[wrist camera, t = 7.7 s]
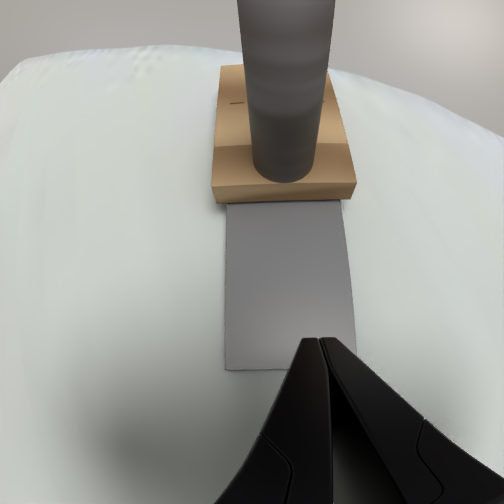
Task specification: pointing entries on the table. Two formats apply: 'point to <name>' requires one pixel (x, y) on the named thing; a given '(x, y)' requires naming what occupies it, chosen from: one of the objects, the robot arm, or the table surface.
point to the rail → (284, 281)
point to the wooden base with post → (281, 109)
